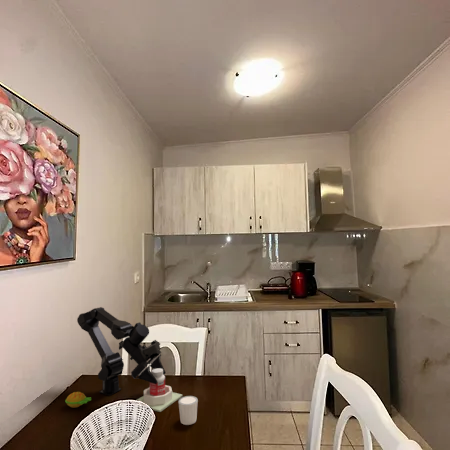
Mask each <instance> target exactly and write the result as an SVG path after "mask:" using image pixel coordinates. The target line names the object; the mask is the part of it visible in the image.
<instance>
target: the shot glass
mask: <svg viewBox="0 0 450 450" xmlns="http://www.w3.org/2000/svg"><path fill="white" fill-rule="evenodd" d="M198 402H199V400H198V397H196V396H193V395H186V396H182V397H181V398H179V399H178V409H179V410H178V411H179V419H180V424H183V425H185V426H189V425H193V424H195V423H196V422H197V420H198V419H197V416H198Z"/></svg>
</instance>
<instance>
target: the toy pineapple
mask: <svg viewBox="0 0 450 450" xmlns="http://www.w3.org/2000/svg"><path fill="white" fill-rule="evenodd" d="M64 401H65V404H66V405H67V406H68V407H70V408H72V409H73V408H79V407H80V406H82V405H83V404H88V402H90V401H92V397H89V396H88V397H87V396H86V395H85V394H84V392H81V391H74V392H72V393H70V394H69V395H68V396H67V397H66V398H65V400H64Z"/></svg>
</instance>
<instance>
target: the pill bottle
mask: <svg viewBox="0 0 450 450" xmlns="http://www.w3.org/2000/svg"><path fill="white" fill-rule="evenodd" d="M150 372H151V373H152V374H153V376H154V377H155V378H156V380H157V381H158V383H157V384H154V383H151V382H149V387H150V396H160V395H164V394H165V385H166V376H165V374H164V375H163V369H161V368H156V369H153V368H152V369H151V370H150Z"/></svg>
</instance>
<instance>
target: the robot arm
mask: <svg viewBox="0 0 450 450" xmlns="http://www.w3.org/2000/svg"><path fill="white" fill-rule="evenodd" d="M76 322H77V324H78V325H79V327H80V328H81V330H83V331H85V332H86V333H87V334H88V335H89V337H90V339H91V341H92V343H93V345H94V347H95V348H96V350H97V352H98V355H99V357H100V358H101V362H100V363H101V364H100V368H101V369H100V370H99V372H98V373H97V377H98V379H99V380H101V381H102V390H99V394H103V395H106V396H112V395H114V394H115V393H116V394H117V393H118V392H119V391H121V390H122V388H121V387H120V381H119V376H120V375H121V376H122V374H123V372H124V371H123V370H124V367H125V363H124V361H123V360H124V359H123V357H122V356H121V354H120V352H118V351H117V352H114V351H113V350H112V349H111V346H110V344H109V343H108V341H107V339H106V338H105V335H104V334H103V332H102V330H101V328H100V326H99V324H101V323H102V324H103V325H104V326H105V327H107V328H108V329H109V330H110V332H111V333H110V335H112V336H113V338H114V339H116V340H119V341H120V340H121V341H120V342H119V343H118V350H122V349H123V350H124V351H125V352H126V354H128V355H129V356H130V357H129V360H131V361H132V360H133V361H134V362H135V363H136V364H137V365H136V366H135V367H134V369H133V370H131V372H130V376H131V377H132V378H133V379H134V380H135V379H137V380H138V379H139V380H142V381H145V382H149V383H150V382H151V383H154V384H157V383H158V381H157V380H156V378H155V377H154V376H153V374H152V373H151V368H152V370H153V369H156V368H161V369H163V375H164V376H165V375H166V370H165V368H164V366H163V364H162V361H161V356H162V354H161V353H162V352H161V349H162V348H161V346H160V345H161V343H160V342H159V341H158V340H157V339H154V340H152V341H150V344H149V345H148V346H146V345H145V344H144V345H142V342H144V341H145V340H146V338H147V337H148V336H149V334H150V329H149V328H148V326H146V325H145V324H142V323H141V322H140V321H139V322H136V323H135V324H134V325H133V324H131V323H130V322H128V321H126V320H120V319H118V318H117V317H115V316H114V315H112V314H111V313H109V312H108V311H107V310H105V308H104V307H102V306H100V307H95V308H92V309H91V310H89V311H87V312H84V313H80V314H79V315H78V317H77V321H76ZM122 339H124V340H122Z"/></svg>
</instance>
